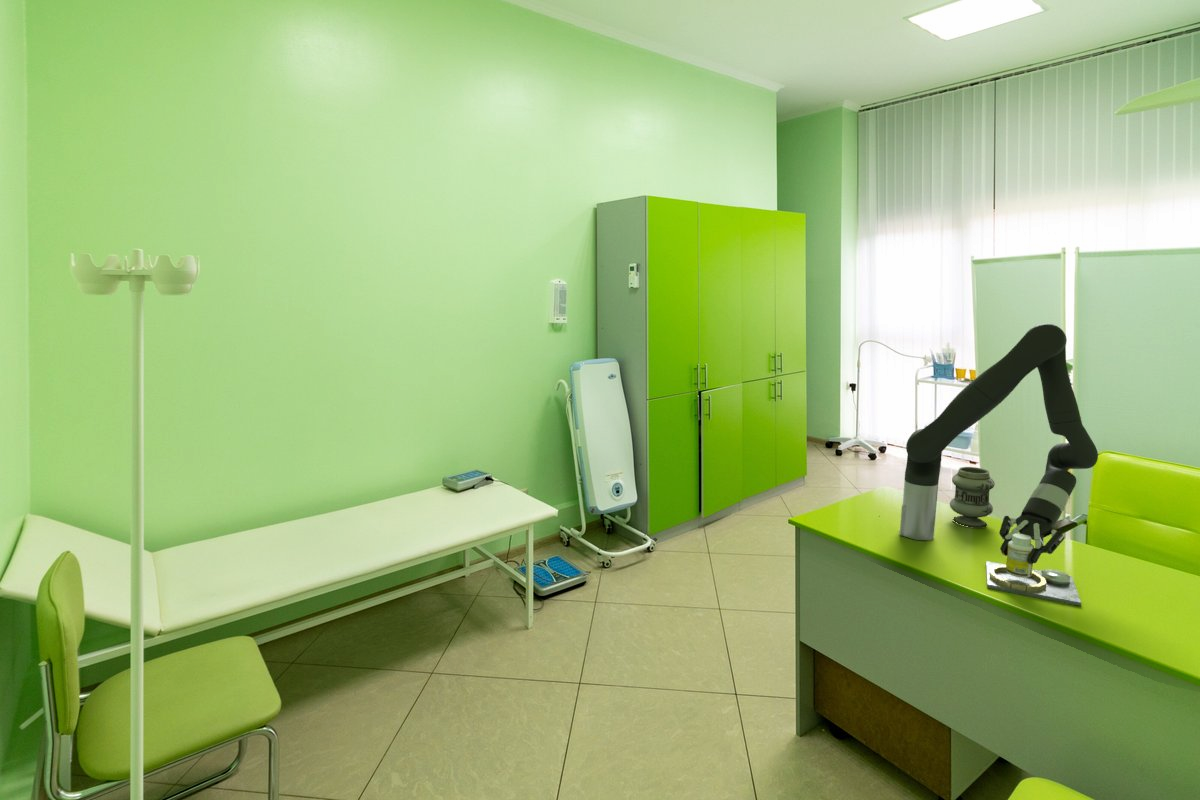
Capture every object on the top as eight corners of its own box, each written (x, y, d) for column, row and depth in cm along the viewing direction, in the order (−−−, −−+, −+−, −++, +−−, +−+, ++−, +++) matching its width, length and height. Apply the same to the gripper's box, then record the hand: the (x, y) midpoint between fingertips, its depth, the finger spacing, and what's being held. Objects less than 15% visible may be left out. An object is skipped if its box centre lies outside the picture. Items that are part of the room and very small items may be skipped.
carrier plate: (987, 587, 156) (988, 578, 156) (985, 564, 170) (986, 555, 170) (1080, 606, 147) (1082, 596, 146) (1071, 580, 160) (1072, 571, 160)
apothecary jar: (948, 514, 209) (953, 462, 206) (990, 520, 203) (995, 467, 200) (947, 525, 199) (952, 471, 196) (991, 532, 193) (997, 477, 190)
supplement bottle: (1018, 568, 161) (1022, 531, 160) (1037, 577, 156) (1041, 539, 154) (1000, 570, 160) (1003, 533, 159) (1018, 579, 155) (1021, 541, 153)
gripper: (1011, 489, 165) (982, 541, 161) (1073, 505, 152) (1043, 561, 149) (1020, 505, 168) (991, 555, 164) (1081, 521, 156) (1052, 576, 152)
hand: (1016, 558), depth 157 cm, fingers closed on supplement bottle, 5 cm apart
